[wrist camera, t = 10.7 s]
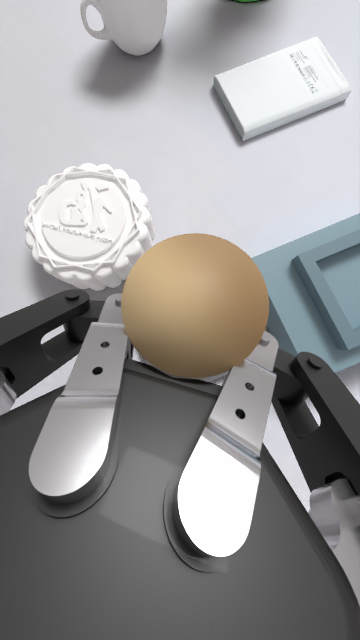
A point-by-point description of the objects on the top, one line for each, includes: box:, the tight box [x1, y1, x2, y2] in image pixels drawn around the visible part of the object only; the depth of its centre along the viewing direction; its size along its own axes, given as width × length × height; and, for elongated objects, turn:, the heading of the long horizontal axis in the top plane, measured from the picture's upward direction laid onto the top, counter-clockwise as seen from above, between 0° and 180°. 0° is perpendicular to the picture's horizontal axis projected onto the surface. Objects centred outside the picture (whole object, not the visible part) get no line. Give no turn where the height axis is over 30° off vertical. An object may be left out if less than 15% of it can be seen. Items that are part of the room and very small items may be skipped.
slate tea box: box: [251, 213, 360, 373], centre depth 17 cm, size 14×11×4 cm
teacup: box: [80, 0, 167, 56], centre depth 21 cm, size 10×8×5 cm
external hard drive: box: [213, 37, 351, 141], centre depth 22 cm, size 2×8×12 cm
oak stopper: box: [121, 233, 269, 378], centre depth 11 cm, size 5×5×11 cm
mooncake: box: [24, 163, 155, 291], centre depth 19 cm, size 12×12×4 cm
